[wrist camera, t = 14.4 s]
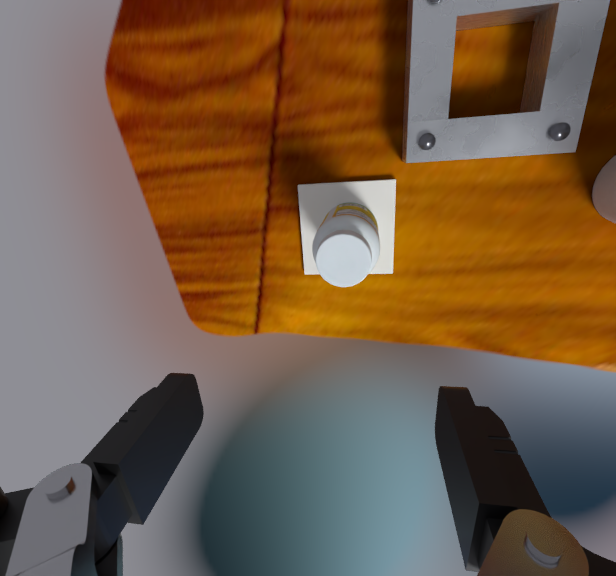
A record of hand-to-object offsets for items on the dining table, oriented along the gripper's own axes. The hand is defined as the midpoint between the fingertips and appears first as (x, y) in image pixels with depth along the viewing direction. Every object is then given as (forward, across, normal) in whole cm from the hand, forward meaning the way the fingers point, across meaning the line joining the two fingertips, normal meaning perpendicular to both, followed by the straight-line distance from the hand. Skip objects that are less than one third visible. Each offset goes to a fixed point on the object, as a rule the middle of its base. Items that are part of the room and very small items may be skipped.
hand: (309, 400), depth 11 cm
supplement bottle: (+24, 0, 0) cm, 24 cm away
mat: (+24, 0, 0) cm, 24 cm away
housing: (+24, -11, -12) cm, 29 cm away
